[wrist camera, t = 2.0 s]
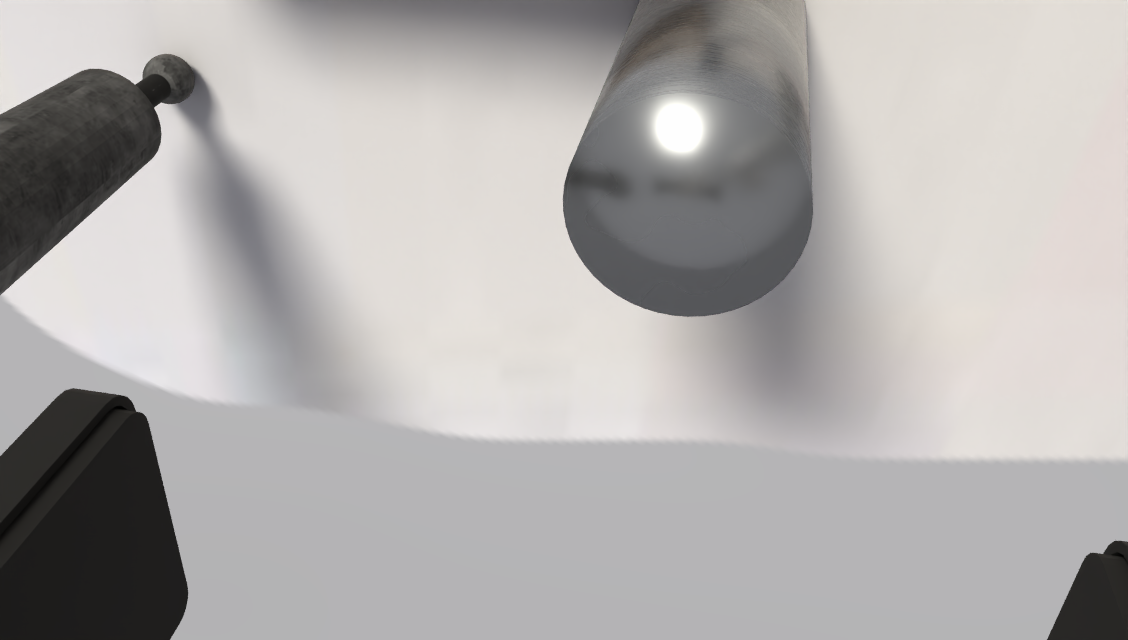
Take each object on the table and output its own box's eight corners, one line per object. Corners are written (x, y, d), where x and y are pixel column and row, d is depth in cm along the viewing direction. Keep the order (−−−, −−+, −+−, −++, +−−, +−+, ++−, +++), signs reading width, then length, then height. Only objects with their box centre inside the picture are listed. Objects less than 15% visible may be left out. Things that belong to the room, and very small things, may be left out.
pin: (819, -57, 23) (834, 108, 15) (791, 109, 25) (790, 331, 17) (645, -72, 24) (568, 80, 16) (632, 92, 26) (558, 299, 18)
